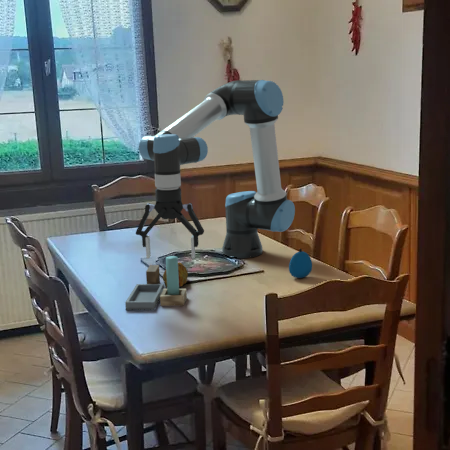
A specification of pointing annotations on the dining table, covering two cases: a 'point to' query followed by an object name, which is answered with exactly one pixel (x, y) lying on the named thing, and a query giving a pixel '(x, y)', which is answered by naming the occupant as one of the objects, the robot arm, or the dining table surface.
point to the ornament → (300, 264)
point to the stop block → (153, 274)
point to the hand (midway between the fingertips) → (171, 257)
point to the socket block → (173, 298)
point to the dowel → (172, 275)
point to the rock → (182, 275)
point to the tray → (144, 297)
